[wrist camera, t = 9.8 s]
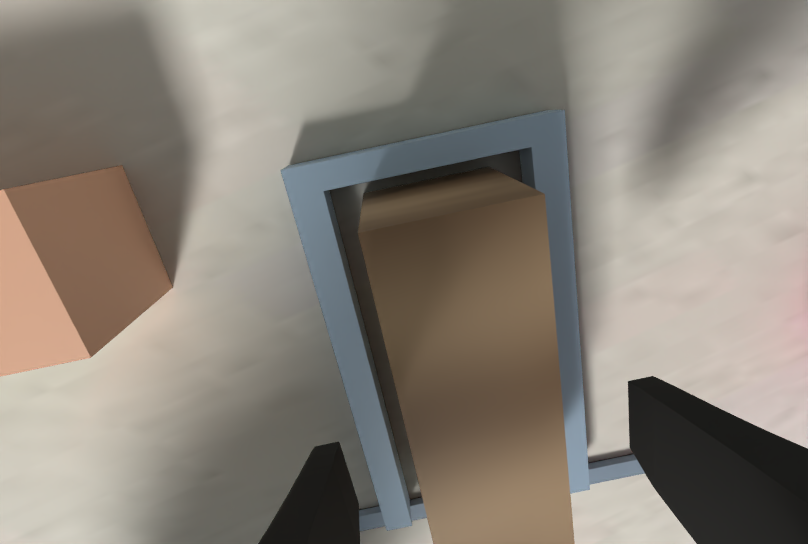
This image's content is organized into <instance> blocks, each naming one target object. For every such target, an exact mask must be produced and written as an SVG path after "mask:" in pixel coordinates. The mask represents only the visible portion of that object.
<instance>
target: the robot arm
mask: <svg viewBox="0 0 808 544" xmlns="http://www.w3.org/2000/svg"><path fill="white" fill-rule="evenodd" d="M628 398H629V436H630V449H631V450H632V452H633V454H634V455H635V457H636V459H637V461H638V462H639V464H640V466H641V467H642V469H643V471H644V472H645V474H646V476H647V477H648V479H649V480H650V482H651V484H652V485H653V487H654V488H655V490H656V491H657V492H658V494H659V495H660V496H661V498H662V499H663V500H664V502H665V503H666V504H667V506H668V507H669V508H670V509H671V511H672V512H673V513H674V515H675V516H676V517H677V519H678V520H679V521H680V523H681V524H682V525H683V526H684V528H685V529H686V530H687V532H688V533H689V534H690V535H691V537H692V538H693V539H694V541H695V542H696V543H697V544H808V449H807V448H805V447H803V446H800V445H798V444H796V443H793V442H791V441H789V440H786V439H784V438H782V437H779V436H777V435H775V434H773V433H770V432H768V431H766V430H764V429H762V428H759V427H757V426H755V425H753V424H751V423H749V422H747V421H744V420H742V419H740V418H738V417H736V416H734V415H732V414H730V413H728V412H726V411H724V410H722V409H719V408H717V407H715V406H713V405H711V404H709V403H707V402H705V401H703V400H701V399H699V398H697V397H695V396H693V395H691V394H689V393H687V392H685V391H683V390H681V389H679V388H677V387H675V386H673V385H671V384H669V383H667V382H665V381H662V380H660V379H658V378H656V377H654V376H651V377H646V378H641V379H637V380H632V381H628ZM258 544H360V526H359V503H358V500H357V497H356V493H355V490H354V487H353V484H352V481H351V478H350V474H349V471H348V468H347V465H346V462H345V459H344V455H343V452H342V449H341V446H340V443H339V442H335V443H330V444H325V445H321V446H316V447H314V449H313V450H312V452H311V454H310V455H309V457H308V459H307V461H306V463H305V465H304V466H303V468H302V470H301V472H300V474H299V476H298V478H297V479H296V481H295V483H294V485H293V487H292V488H291V490H290V492H289V494H288V495H287V497H286V499H285V501H284V502H283V504H282V506H281V507H280V509H279V511H278V513H277V514H276V516H275V518H274V519H273V521H272V523H271V524H270V526H269V528H268V529H267V531H266V532H265V534H264V536H263V537H262V539H261V540H260V542H259V543H258Z"/></svg>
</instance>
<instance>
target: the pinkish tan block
mask: <svg viewBox="0 0 808 544" xmlns="http://www.w3.org/2000/svg"><path fill="white" fill-rule="evenodd" d="M172 288H173V286H172V284H171V282H170V279H169V277H168V274H167V272H166V270H165V267H164V265H163V262H162V260H161V258H160V255H159V253H158V250H157V248H156V246H155V243H154V241H153V238H152V236H151V234H150V231H149V229H148V226H147V224H146V222H145V219H144V217H143V214H142V212H141V210H140V207H139V205H138V202H137V200H136V198H135V195H134V193H133V190H132V188H131V186H130V183H129V181H128V179H127V176H126V174H125V171H124V169H123V167H122V165H121V166H116V167H111V168H106V169H101V170H96V171H91V172H87V173H82V174H77V175H72V176H67V177H62V178H57V179H52V180H47V181H42V182H37V183H32V184H27V185H22V186H17V187H12V188H8V189H3V190H0V376H5V375H10V374H15V373H19V372H24V371H29V370H34V369H39V368H43V367H48V366H53V365H58V364H63V363H67V362H72V361H77V360H82V359H87V358H91V357H92V356H93V355H94V354H96V353H97V352H98V351H99V350H100V349H101V348H103V347H104V346H105V345H106V344H107V343H108V342H110V341H111V340H112V339H113V338H114V337H115V336H117V335H118V334H119V333H120V332H121V331H122V330H124V329H125V328H126V327H127V326H128V325H129V324H131V323H132V322H133V321H134V320H135V319H136V318H138V317H139V316H140V315H141V314H142V313H143V312H145V311H146V310H147V309H148V308H149V307H151V306H152V305H153V304H154V303H155V302H156V301H158V300H159V299H160V298H161V297H162V296H163V295H165V294H166V293H167V292H168V291H169V290H170V289H172Z"/></svg>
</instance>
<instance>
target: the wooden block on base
mask: <svg viewBox="0 0 808 544" xmlns="http://www.w3.org/2000/svg"><path fill="white" fill-rule="evenodd" d="M358 236H359V241H360V245H361V249H362V253H363V257H364V261H365V265H366V269H367V273H368V277H369V281H370V286H371V290H372V294H373V298H374V302H375V306H376V310H377V314H378V318H379V322H380V327H381V331H382V335H383V339H384V343H385V347H386V351H387V355H388V359H389V363H390V368H391V372H392V376H393V380H394V384H395V388H396V392H397V396H398V400H399V404H400V408H401V413H402V417H403V421H404V425H405V429H406V433H407V437H408V441H409V445H410V449H411V454H412V458H413V462H414V466H415V470H416V474H417V478H418V482H419V486H420V490H421V494H422V499H423V503H424V507H425V511H426V515H427V519H428V523H429V527H430V531H431V535H432V540H433V544H574V532H573V520H572V508H571V497H570V485H569V473H568V461H567V449H566V438H565V426H564V414H563V402H562V391H561V379H560V367H559V355H558V343H557V332H556V320H555V308H554V296H553V284H552V273H551V261H550V249H549V237H548V225H547V214H546V202H545V194H544V193H542V192H540V191H538V190H536V189H534V188H532V187H530V186H528V185H526V184H523V183H521V182H519V181H517V180H515V179H513V178H511V177H509V176H507V175H505V174H503V173H501V172H499V171H497V170H495V169H493V168H490V167H486V168H481V169H476V170H472V171H467V172H462V173H457V174H452V175H448V176H443V177H438V178H433V179H429V180H424V181H419V182H414V183H410V184H405V185H400V186H395V187H391V188H386V189H381V190H376V191H372V192H367V193H364V195H363V201H362V208H361V214H360V221H359V227H358Z"/></svg>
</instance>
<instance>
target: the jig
mask: <svg viewBox="0 0 808 544" xmlns="http://www.w3.org/2000/svg"><path fill="white" fill-rule="evenodd" d="M515 150H519V153H520V163H521V172H522V182H523V184H526V185H528V186H530V187H532V188H534V189H536V190H538V191H540V192H542V193H544V194H545V202H546V214H547V225H548V237H549V249H550V261H551V273H552V284H553V296H554V308H555V320H556V332H557V343H558V355H559V367H560V379H561V391H562V402H563V414H564V426H565V438H566V449H567V461H568V473H569V485H570V493H575V492H580V491H585V490H590V484H595V483H600V482H604V481H609V480H614V479H619V478H624V477H629V476H634V475H639V474H644V473H645V472H644V471H643V469H642V467H641V466H640V464H639V462H638V461H637V459H636V457H635V455H634V454H632V455H628V456H623V457H618V458H613V459H608V460H603V461H598V462H593V463H588V455H587V440H586V425H585V409H584V394H583V379H582V364H581V349H580V334H579V319H578V304H577V289H576V274H575V259H574V244H573V229H572V214H571V199H570V184H569V169H568V154H567V139H566V124H565V110H546V111H542V112H537V113H532V114H528V115H523V116H518V117H513V118H509V119H504V120H499V121H495V122H490V123H485V124H481V125H476V126H471V127H467V128H462V129H457V130H453V131H448V132H443V133H438V134H434V135H429V136H424V137H420V138H415V139H410V140H406V141H401V142H396V143H392V144H387V145H382V146H378V147H373V148H368V149H363V150H359V151H354V152H349V153H345V154H340V155H335V156H331V157H326V158H321V159H317V160H312V161H307V162H303V163H298V164H293V165H289V166H287V167H285V168H284V169H282V170H281V174H282V177H283V180H284V184H285V187H286V191H287V194H288V197H289V201H290V204H291V207H292V211H293V214H294V218H295V221H296V224H297V228H298V231H299V235H300V238H301V241H302V245H303V248H304V252H305V255H306V258H307V262H308V265H309V269H310V272H311V275H312V279H313V282H314V285H315V289H316V292H317V296H318V299H319V302H320V306H321V309H322V313H323V316H324V319H325V323H326V326H327V330H328V333H329V336H330V340H331V343H332V347H333V350H334V353H335V357H336V360H337V363H338V367H339V370H340V374H341V377H342V380H343V384H344V387H345V391H346V394H347V397H348V401H349V404H350V408H351V411H352V414H353V418H354V421H355V425H356V428H357V431H358V435H359V438H360V441H361V445H362V448H363V452H364V455H365V458H366V462H367V465H368V469H369V472H370V475H371V479H372V482H373V486H374V489H375V492H376V496H377V499H378V503H379V506H378V507H373V508H368V509H363V510H359V526H360V531H364V530H369V529H374V528H379V527H383V526H386V530H387V531H388V530H393V529H398V528H403V527H408V526H412V521H413V520H418V519H423V518H427V515H426V511H425V507H424V503H423V499H422V498H417V499H412V500H410V499H409V495H408V491H407V487H406V483H405V480H404V476H403V472H402V468H401V464H400V460H399V457H398V453H397V449H396V445H395V441H394V437H393V433H392V430H391V426H390V422H389V418H388V414H387V410H386V407H385V403H384V399H383V395H382V391H381V387H380V384H379V380H378V376H377V372H376V368H375V364H374V361H373V357H372V353H371V349H370V345H369V341H368V337H367V334H366V330H365V326H364V322H363V318H362V314H361V311H360V307H359V303H358V299H357V295H356V291H355V288H354V284H353V280H352V276H351V272H350V268H349V265H348V261H347V257H346V253H345V249H344V245H343V241H342V238H341V234H340V230H339V226H338V222H337V218H336V215H335V211H334V207H333V203H332V199H331V195H330V192H329V190H331V189H336V188H341V187H346V186H350V185H355V184H360V183H364V182H369V181H374V180H379V179H383V178H388V177H393V176H397V175H402V174H407V173H411V172H416V171H421V170H426V169H430V168H435V167H440V166H444V165H449V164H454V163H459V162H463V161H468V160H473V159H477V158H482V157H487V156H491V155H496V154H501V153H506V152H510V151H515Z"/></svg>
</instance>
